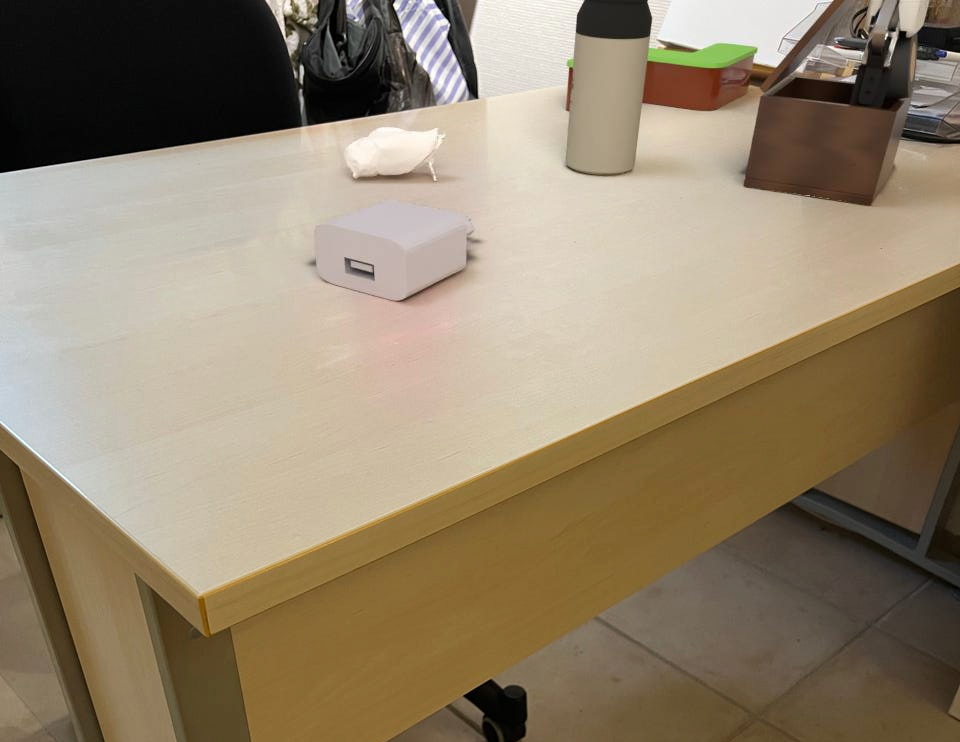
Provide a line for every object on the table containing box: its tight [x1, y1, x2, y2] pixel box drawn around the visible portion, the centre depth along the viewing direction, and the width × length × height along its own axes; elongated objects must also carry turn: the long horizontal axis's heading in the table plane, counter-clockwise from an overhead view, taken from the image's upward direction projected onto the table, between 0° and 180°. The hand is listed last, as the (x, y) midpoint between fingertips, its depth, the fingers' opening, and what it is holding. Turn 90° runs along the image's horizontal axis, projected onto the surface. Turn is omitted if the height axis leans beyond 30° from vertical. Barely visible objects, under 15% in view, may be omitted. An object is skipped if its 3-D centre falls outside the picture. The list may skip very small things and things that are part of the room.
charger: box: [313, 198, 476, 301], centre depth 81 cm, size 5×9×15 cm
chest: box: [743, 74, 915, 207], centre depth 104 cm, size 14×14×9 cm
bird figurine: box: [343, 126, 446, 182], centre depth 102 cm, size 5×7×10 cm
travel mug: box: [565, 0, 653, 176], centre depth 103 cm, size 8×8×18 cm
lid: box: [759, 0, 857, 94], centre depth 98 cm, size 15×14×6 cm
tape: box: [884, 29, 918, 101], centre depth 98 cm, size 6×6×4 cm
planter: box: [565, 42, 758, 112], centre depth 137 cm, size 30×18×6 cm, turn 150°
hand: (869, 103), depth 101 cm, fingers closed on tape, 6 cm apart
